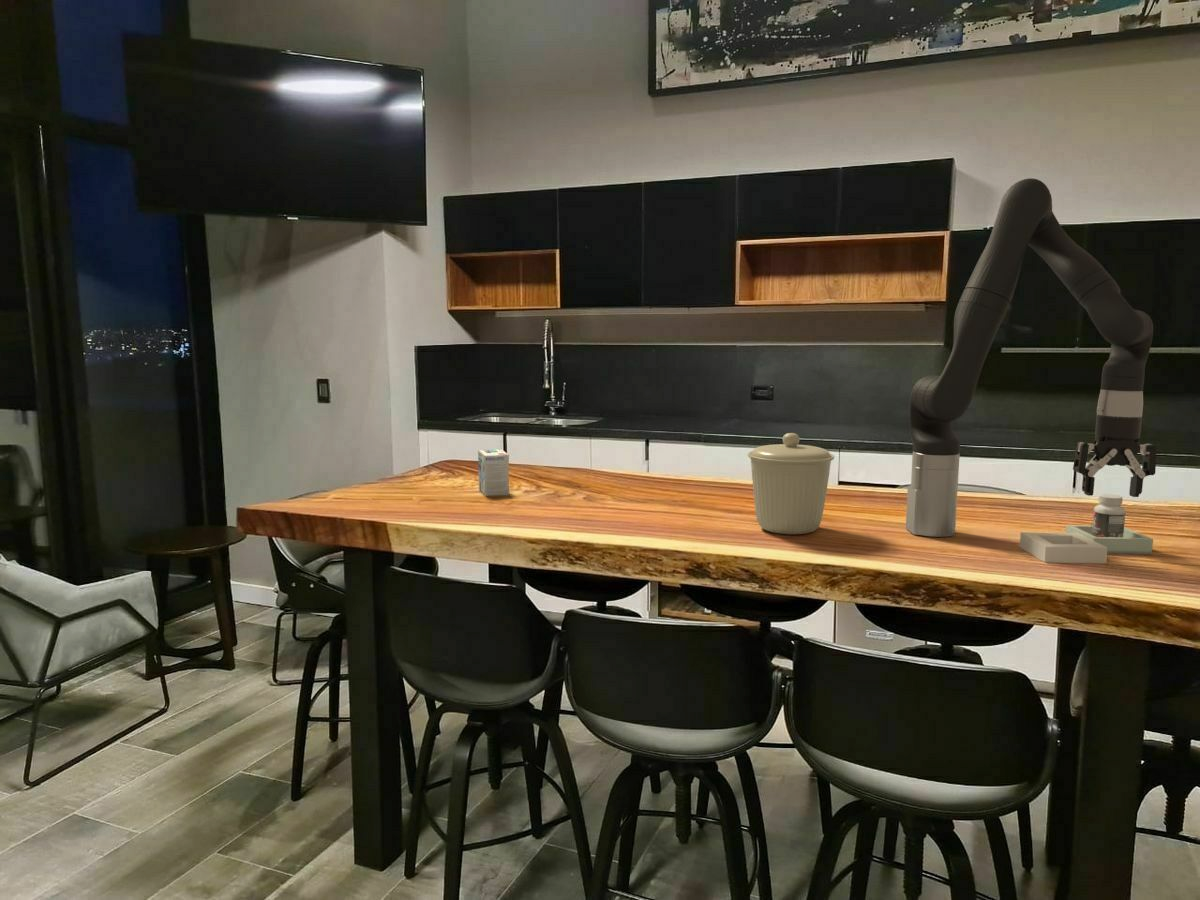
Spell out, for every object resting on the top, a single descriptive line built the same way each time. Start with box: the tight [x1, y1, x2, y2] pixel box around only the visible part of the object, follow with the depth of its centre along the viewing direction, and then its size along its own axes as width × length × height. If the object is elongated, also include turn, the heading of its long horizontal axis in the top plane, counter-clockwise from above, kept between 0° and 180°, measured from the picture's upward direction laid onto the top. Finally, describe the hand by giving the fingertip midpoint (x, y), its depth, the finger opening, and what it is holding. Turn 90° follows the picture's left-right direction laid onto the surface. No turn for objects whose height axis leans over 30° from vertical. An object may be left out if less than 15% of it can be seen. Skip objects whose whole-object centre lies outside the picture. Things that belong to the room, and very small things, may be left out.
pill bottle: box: [1092, 493, 1126, 537], centre depth 168 cm, size 5×5×10 cm
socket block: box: [1019, 532, 1108, 564], centre depth 162 cm, size 11×11×3 cm
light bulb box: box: [477, 448, 510, 497], centre depth 226 cm, size 11×7×11 cm, turn 17°
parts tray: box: [1065, 524, 1154, 555], centre depth 168 cm, size 11×11×3 cm
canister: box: [747, 432, 835, 535], centre depth 182 cm, size 18×18×21 cm
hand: (1111, 495), depth 166 cm, fingers open, 8 cm apart
